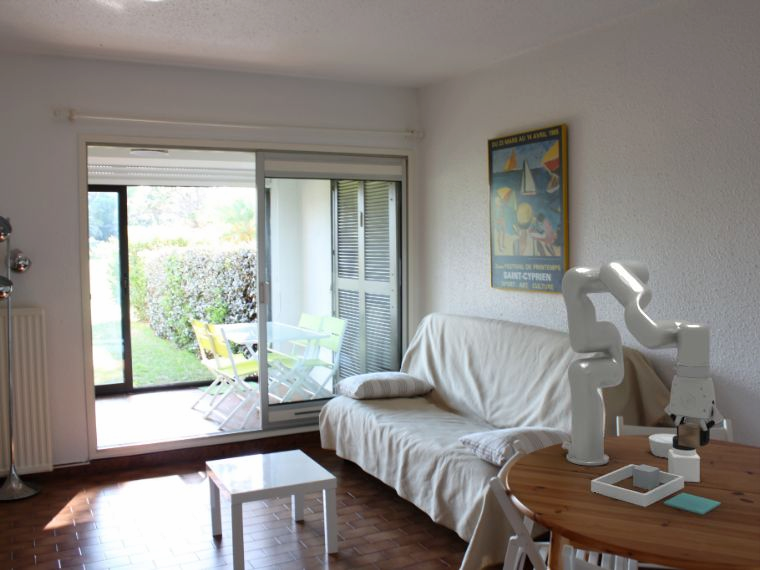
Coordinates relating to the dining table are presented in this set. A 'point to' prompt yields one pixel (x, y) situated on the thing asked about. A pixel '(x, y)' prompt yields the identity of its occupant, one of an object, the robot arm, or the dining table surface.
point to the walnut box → (690, 435)
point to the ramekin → (661, 444)
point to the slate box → (646, 477)
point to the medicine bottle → (684, 462)
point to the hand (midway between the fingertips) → (692, 442)
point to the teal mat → (692, 503)
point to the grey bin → (606, 488)
